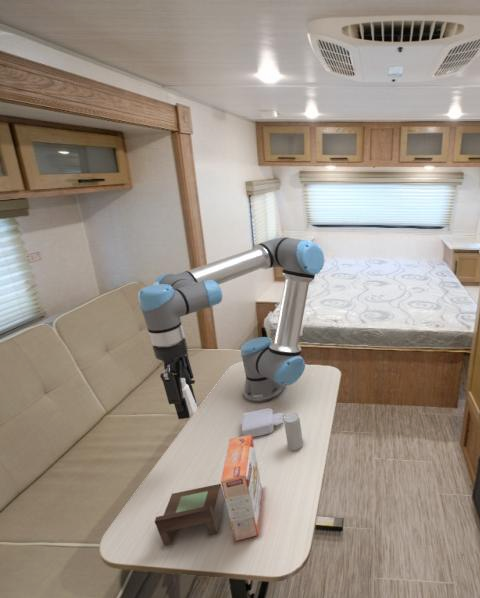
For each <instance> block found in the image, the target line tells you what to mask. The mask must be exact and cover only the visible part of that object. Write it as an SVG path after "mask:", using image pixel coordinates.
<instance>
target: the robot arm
mask: <svg viewBox="0 0 480 598" xmlns="http://www.w3.org/2000/svg"><path fill="white" fill-rule="evenodd" d="M324 264H325V255H324V252H323V250H322V248H321V246H320V245H319V244H318V243H316V242H314V241H311V240H308V239H299V238H294V237H289V236H282V237H277V238H272V239H270V240H266V241H263V242H260V243H256V244H254V246H253V247H252V248H251V249H248V250H245V251H242V252H239V253H237V254H233V255H230V256H227V257H225V258H221V259H218V260H216V261H215V260H214V261H211V262H209V263H207V264H203V265H201V266H198V267H194V268H191V269H188V270H186V271H181V272H179V273H176V274H174V273H163V274H160V275H159V276H157V277H156V278H155V280H154V281H153V284H152V285H147V286H145V287H143V288H141V289H139V291H138V293H137V294H138V295H137V297H138V302H139V308H140V310H141V312H142V313H141V314H142V316H143V319H144V322H145V325H146V328H147V336H149V339H150V342H151V345H152V349H153V354H154V356H155V359H156V360H159V361H161V362H163V369H164V372H161V373H160V375H159V376H160V379H161V381H162V384H163V387H164V391H165V394H166V398H167V402H168V404H169V405H174V408H175V411H176V416H177V418H178V420H184V419H189V418H191V415H190V414H189V411H188V407H187V403H186V400H185V398H183V393H182V385H181V378H185V381H186V384H188V386H189V388H190V390H191V393H192V395H193V398H194V400H195V403H196V404H197V400H196V395H195V392H194V388H193V385H194V384H195V383H196V381H195V379H194V372H193V370H192V366H191V361H190V359H189V352H188V343H187V339H186V338H185V337H186V335H185V332H184V327H183V324H182V321H181V317H184V316H187V315H190V314H193V313H196V312H199V311H202V310H205V309H209V308H211V307H214V306H216V305H218V304H220V303H221V302H223V301H222V300H223V291H222V288H221V286H220V285H222V284H224V283H228V282H230V281H233V280H235V279H237V278H240V277H242V276H245V275H247V274H250V273H252V272H255V271H258V270H260V269H262V270H268V269H271V268H282V270H281V271H282V272H281V274H282V275H283V277H284V279H285V280H284V286H283V290H282V291H283V292H282V297H281V303H280V308H279V313H278V318H277V319H278V320H277V324H276V331H275V337H274V341H273V340H272V338H271V337H268V336H261V337H255V338H251V339H249V340H247V341H246V342H244V343H243V344H242V345H241V347H240V356H241V359H242V364H243V369H244V375H245V381H244V387H243V394H244V398H245V400H247V401H249V402H253V403H262V402H264V403H265V402H267V401H268V402H269V401H271V400H273V399H275V398H277V397H278V396H280V395H281V393H282V392H283V391H284V388H285V387H284V386H290V385H293V384H294V383H296V382H297V381H298V380H299V379H300V378H301V377H302V376H303V374H304V371H305V368H306V361H305V360H304V358H303V357H302V356H301V354H302V348H301V346H300V345H299V342H300V336H301V330H302V325H303V320H304V314H305V309H306V304H307V299H308V298H307V297H308V291H309V287H310V283H311V282H313V281H314V280H315V277H316V275H318V274H320V272H321V270H323V269H324Z"/></svg>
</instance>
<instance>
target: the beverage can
mask: <svg viewBox="0 0 480 598" xmlns="http://www.w3.org/2000/svg"><path fill="white" fill-rule="evenodd" d="M286 414H287V415H286ZM286 414H285V415H286V416H284V417H283V418H284V419H283V424H284V429H285V437H286V442H287V447H288V449H289V450H291V451H299V450H300V449H301V448H302V447H303V444H304V441H303V433H302V426H301V419H300V415H299V413H297V412H290V413H286Z"/></svg>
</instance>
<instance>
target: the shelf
mask: <svg viewBox="0 0 480 598" xmlns="http://www.w3.org/2000/svg"><path fill="white" fill-rule="evenodd" d="M225 502H226V501H225V497H224V493H223V489H222V484H221V483H218V484H213V485H208V486H203V487H198V488H193V489H188V490H183V491H178V492H174V493H173V492H172V493H171V495H170V498H169V500H168V502H167V506H166V508H165V509H164V513H163V515H159V516H156V517H155V519H154V525H155V526H156V528H157V532H158V533H159V536H160V539H161V542H162V544H163V546H164V547H165V546H170V545H172V544H173V541H174V537H175V534H176V532H177V530H179V529H183V528H189V527H193V526H197V525H201V524H206V526H207V529H208V533H209V535H210V536H212V535H217V534H218V531H219V527H220V523H221V518H222V513H223V509H224V504H225Z"/></svg>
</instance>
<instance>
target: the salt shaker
mask: <svg viewBox="0 0 480 598" xmlns="http://www.w3.org/2000/svg"><path fill="white" fill-rule="evenodd" d="M181 385H182V393H183V398H185V400H186V403H187V407H188V411H189V414H190V416H192V415H194V414H196V412H197V411H198V410H199V408H198V406H197V402H196V403H195V400H194V398H193V395H192V393H191V390H190V388H189V386H188V384H186V381H185V378H181Z"/></svg>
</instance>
